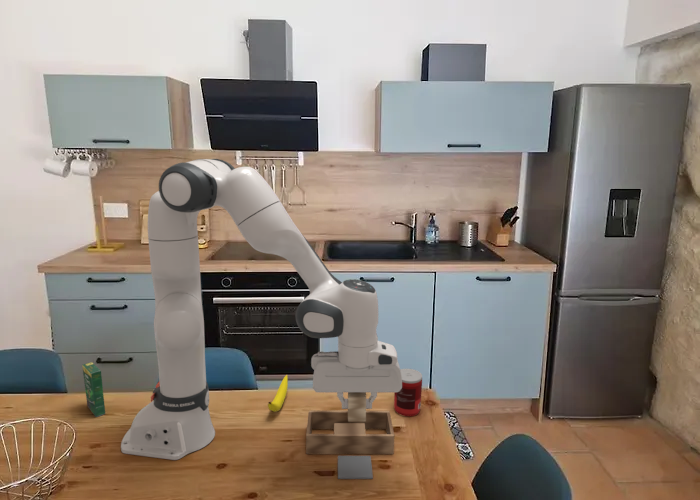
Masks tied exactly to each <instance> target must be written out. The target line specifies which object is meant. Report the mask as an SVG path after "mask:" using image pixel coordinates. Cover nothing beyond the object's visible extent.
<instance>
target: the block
mask: <svg viewBox="0 0 700 500" xmlns="http://www.w3.org/2000/svg"><path fill="white" fill-rule="evenodd" d="M347 399H348V409H347V411H348V421H366V411H367V409H366V399H367V392H347Z"/></svg>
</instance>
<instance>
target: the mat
mask: <svg viewBox="0 0 700 500" xmlns="http://www.w3.org/2000/svg"><path fill="white" fill-rule="evenodd" d="M373 478H374V474H373V466H372V456H371V455H337V479H338V480H373Z"/></svg>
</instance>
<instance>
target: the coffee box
mask: <svg viewBox="0 0 700 500" xmlns="http://www.w3.org/2000/svg"><path fill="white" fill-rule="evenodd" d="M81 367H82V374H83V383H84V391H85V397H86V405H87V409H89V410H90V411H91V413H92V414H93V416H94V417H96V418H97V417H101V416H103V415H106V408H105V399H104V398H105V397H104V396H105V395H104V389H103V388H104V387H103V376H102V370H101V369H100V368H99V367H98V366H96V364H95V363H93V362H91V361H90V362H86V363H84V364H82V365H81Z"/></svg>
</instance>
